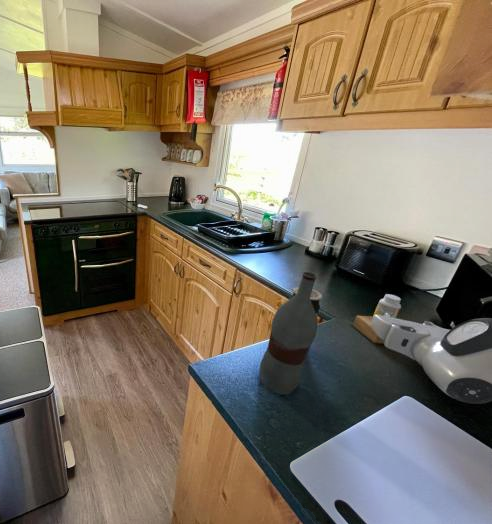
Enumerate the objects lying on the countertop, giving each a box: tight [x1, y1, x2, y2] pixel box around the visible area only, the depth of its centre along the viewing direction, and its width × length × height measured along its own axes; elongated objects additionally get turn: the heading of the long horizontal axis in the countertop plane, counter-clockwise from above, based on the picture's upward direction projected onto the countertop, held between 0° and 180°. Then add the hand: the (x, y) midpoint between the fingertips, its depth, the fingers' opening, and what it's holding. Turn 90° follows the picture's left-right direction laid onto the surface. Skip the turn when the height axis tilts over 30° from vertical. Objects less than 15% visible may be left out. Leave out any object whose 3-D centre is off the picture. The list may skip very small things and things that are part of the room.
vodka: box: [258, 271, 318, 396], centre depth 67 cm, size 9×9×30 cm
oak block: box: [352, 315, 385, 344], centre depth 96 cm, size 10×10×4 cm
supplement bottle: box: [372, 293, 402, 319], centre depth 94 cm, size 6×6×10 cm
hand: (406, 319), depth 84 cm, fingers open, 8 cm apart
